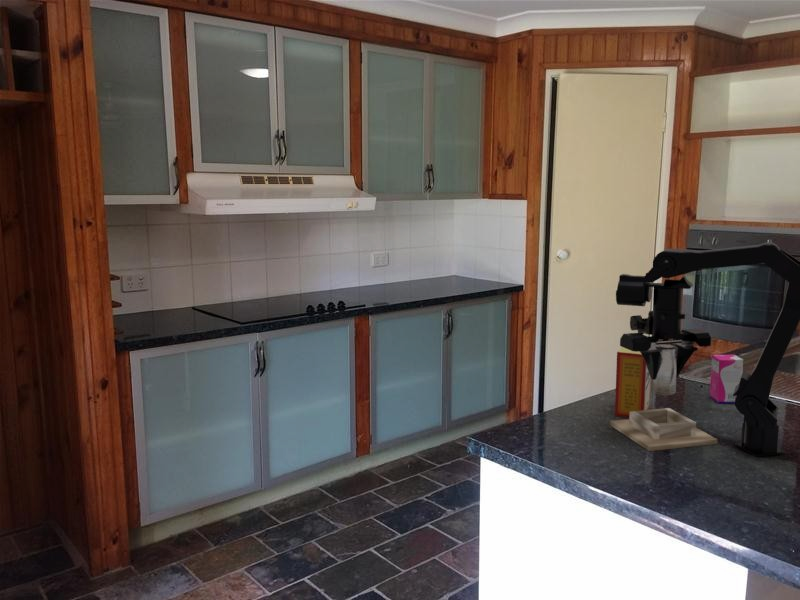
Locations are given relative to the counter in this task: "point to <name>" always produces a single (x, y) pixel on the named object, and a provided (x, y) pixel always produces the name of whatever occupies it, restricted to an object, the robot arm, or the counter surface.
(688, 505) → the counter surface
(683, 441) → the square peg hole base
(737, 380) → the supplement box
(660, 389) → the aluminium peg
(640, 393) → the baking soda box
